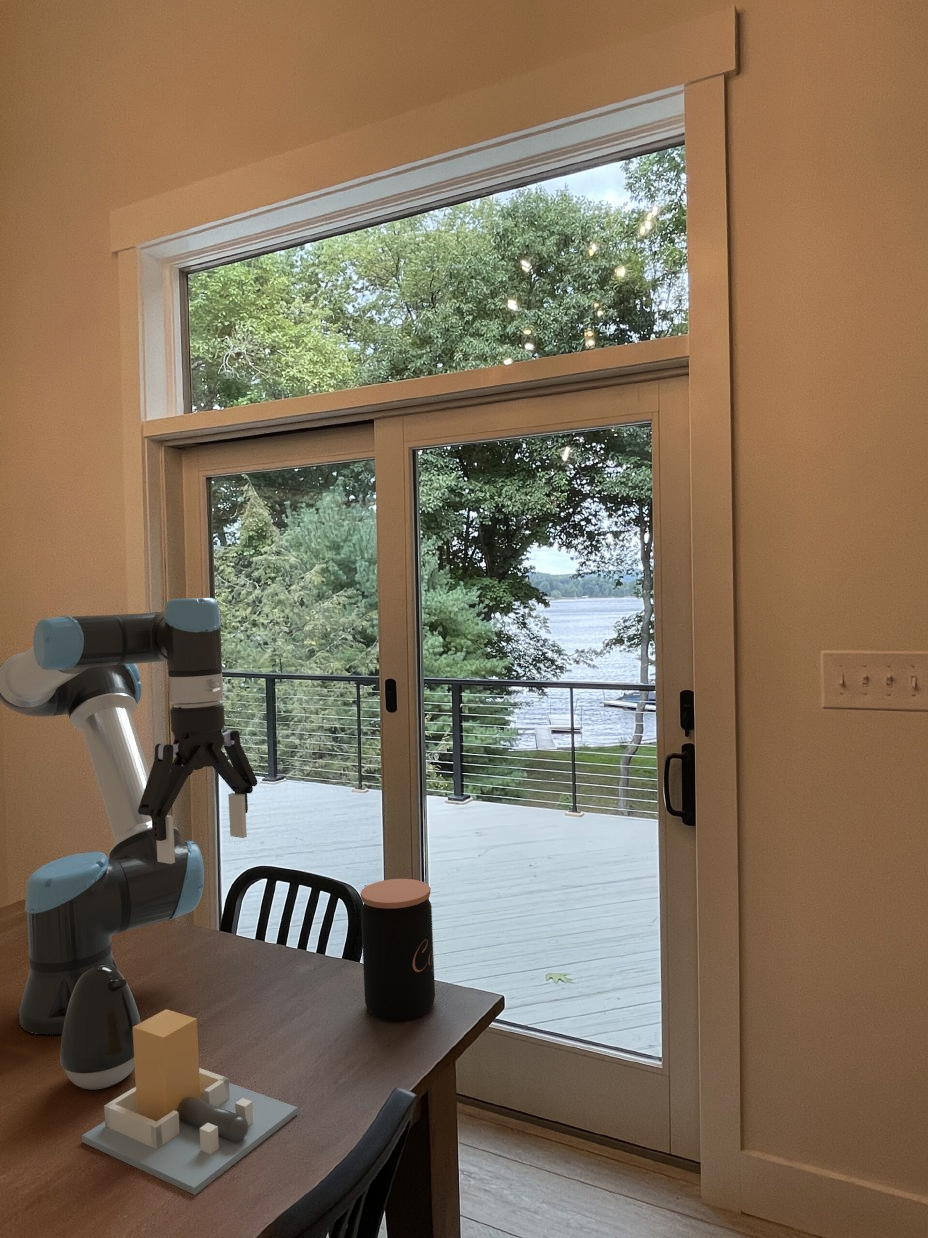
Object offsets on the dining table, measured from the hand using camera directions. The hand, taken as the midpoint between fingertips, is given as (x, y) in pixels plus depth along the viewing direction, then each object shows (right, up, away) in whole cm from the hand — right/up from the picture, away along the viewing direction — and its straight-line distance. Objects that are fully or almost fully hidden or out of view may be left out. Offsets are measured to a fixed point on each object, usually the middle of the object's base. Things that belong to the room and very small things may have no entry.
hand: (204, 849), depth 126 cm
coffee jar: (+28, -26, +5) cm, 39 cm away
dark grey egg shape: (-10, -28, -11) cm, 31 cm away
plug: (+6, -26, -23) cm, 36 cm away
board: (+5, -27, -23) cm, 36 cm away
